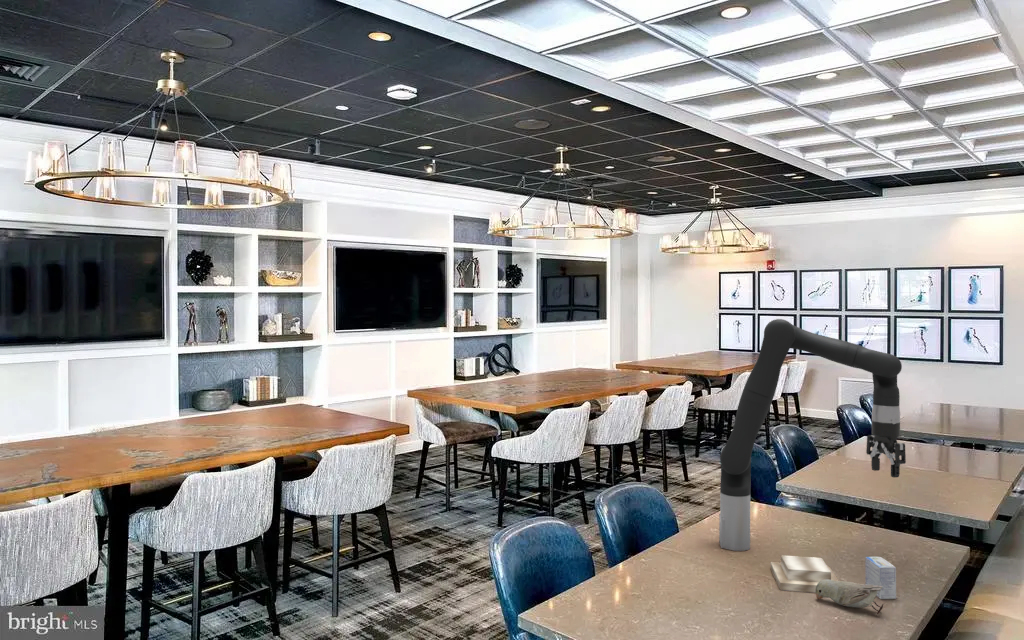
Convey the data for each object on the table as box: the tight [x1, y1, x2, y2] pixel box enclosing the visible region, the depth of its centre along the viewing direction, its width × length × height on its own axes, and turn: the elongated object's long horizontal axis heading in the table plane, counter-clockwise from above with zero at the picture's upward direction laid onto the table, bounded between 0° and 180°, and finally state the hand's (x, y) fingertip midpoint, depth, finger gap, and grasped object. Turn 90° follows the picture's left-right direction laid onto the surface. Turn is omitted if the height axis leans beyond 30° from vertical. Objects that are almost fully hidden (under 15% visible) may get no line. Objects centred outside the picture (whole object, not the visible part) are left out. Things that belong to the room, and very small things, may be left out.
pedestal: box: [770, 555, 840, 594], centre depth 196 cm, size 16×16×5 cm
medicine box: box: [865, 556, 897, 600], centre depth 187 cm, size 8×4×9 cm, turn 179°
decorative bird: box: [815, 579, 885, 617], centre depth 179 cm, size 5×16×8 cm, turn 51°
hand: (885, 473), depth 210 cm, fingers open, 8 cm apart
